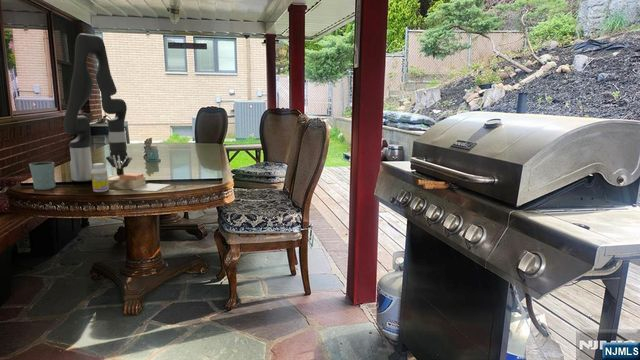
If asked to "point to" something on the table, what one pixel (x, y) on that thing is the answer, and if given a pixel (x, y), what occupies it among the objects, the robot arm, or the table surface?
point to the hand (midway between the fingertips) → (120, 175)
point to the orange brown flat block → (131, 176)
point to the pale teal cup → (43, 175)
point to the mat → (151, 187)
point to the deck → (124, 182)
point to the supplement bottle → (99, 178)
